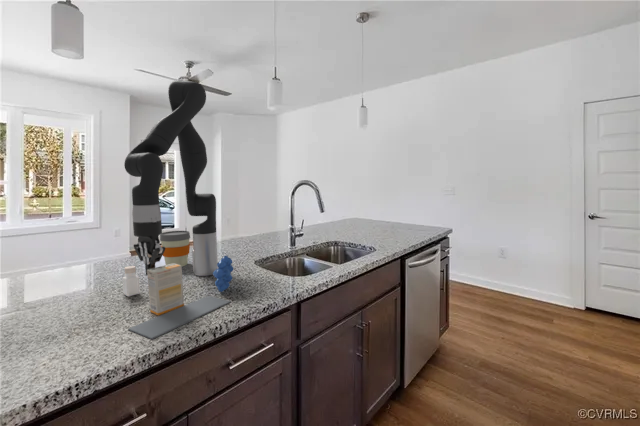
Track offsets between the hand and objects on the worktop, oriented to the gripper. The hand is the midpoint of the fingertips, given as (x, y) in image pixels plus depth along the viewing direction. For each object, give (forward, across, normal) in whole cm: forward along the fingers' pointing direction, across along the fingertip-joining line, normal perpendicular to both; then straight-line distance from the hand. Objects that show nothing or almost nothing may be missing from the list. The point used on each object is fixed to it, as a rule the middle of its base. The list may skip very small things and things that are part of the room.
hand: (150, 275), depth 94 cm
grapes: (+10, +9, +20) cm, 24 cm away
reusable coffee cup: (+10, -34, +33) cm, 48 cm away
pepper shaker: (+10, -15, +2) cm, 18 cm away
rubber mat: (+10, +15, 0) cm, 18 cm away
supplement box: (+10, +7, 0) cm, 12 cm away
